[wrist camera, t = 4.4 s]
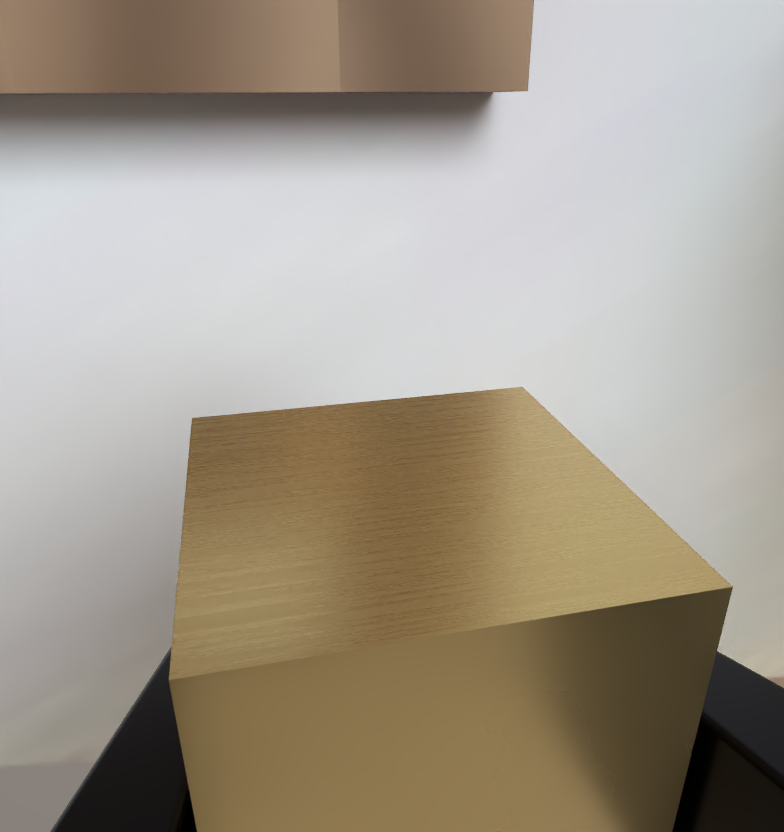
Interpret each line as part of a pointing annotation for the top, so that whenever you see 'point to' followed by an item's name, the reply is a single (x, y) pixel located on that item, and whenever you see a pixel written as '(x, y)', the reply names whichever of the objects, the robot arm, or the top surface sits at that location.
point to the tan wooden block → (431, 625)
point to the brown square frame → (264, 46)
